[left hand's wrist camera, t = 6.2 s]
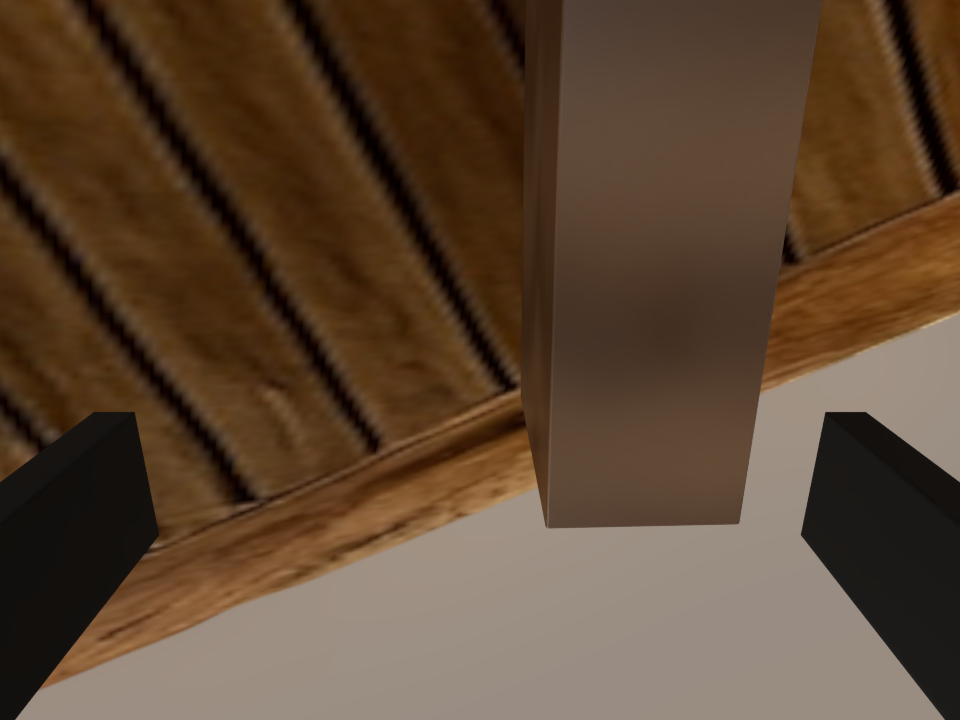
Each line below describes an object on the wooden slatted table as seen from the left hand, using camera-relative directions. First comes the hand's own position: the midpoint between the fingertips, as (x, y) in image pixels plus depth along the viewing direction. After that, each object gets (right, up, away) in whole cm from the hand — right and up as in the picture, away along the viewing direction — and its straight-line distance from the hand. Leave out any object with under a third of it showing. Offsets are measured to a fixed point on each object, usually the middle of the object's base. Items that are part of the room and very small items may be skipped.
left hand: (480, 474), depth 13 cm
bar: (+4, +13, +9) cm, 17 cm away
